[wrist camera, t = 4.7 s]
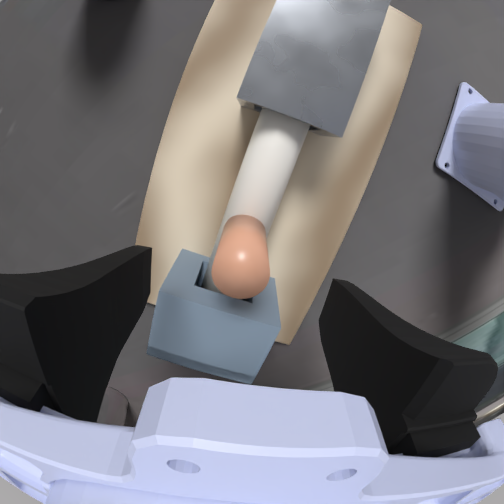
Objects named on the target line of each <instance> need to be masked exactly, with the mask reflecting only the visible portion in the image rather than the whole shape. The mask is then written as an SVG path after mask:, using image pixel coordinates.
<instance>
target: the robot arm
mask: <svg viewBox="0 0 504 504" xmlns="http://www.w3.org/2000/svg"><path fill="white" fill-rule="evenodd" d="M468 89H469V91H470V94H469V92H468ZM445 163H447V167H446V168H445ZM436 166H437V167H438V168H439V169H441V170H442V171H444V172H446V173H447V174H449V175H450V176H451V177H453V178H454V179H456V180H457V181H459V182H460V183H462V184H463V185H465V186H466V187H467V188H469V189H470V190H472V191H473V192H474V193H476V194H477V195H478V196H480V197H481V198H482V199H484V200H485V201H486V202H488V203H489V204H490V205H491V206H493V207H494V208H495V209H496V210H498V211H502V210H503V208H504V103H489V102H488V101H487V100H486V99H485V98H484V97H483V96H482V95H480V94H479V93H478V92H477V91H476V90H475V89H473V88H472V87H471V86H470V85H469V84H467V83H466V82H462V83H460V85H459V89H458V93H457V96H456V100H455V103H454V107H453V110H452V114H451V117H450V120H449V123H448V126H447V129H446V132H445V135H444V138H443V141H442V144H441V147H440V150H439V152H438V155H437V158H436ZM494 200H495V202H494ZM151 262H152V247H146V246H141V245H135V246H131V247H128V248H125V249H123V250H120V251H117V252H115V253H112V254H110V255H107V256H104V257H101V258H98V259H96V260H93V261H90V262H87V263H84V264H80V265H77V266H73V267H69V268H64V269H60V270H53V271H47V272H40V273H29V274H0V476H1V477H2V478H3V479H5V480H6V481H8V482H9V483H11V484H12V485H14V486H15V487H17V488H18V489H20V490H21V491H23V492H25V493H26V494H28V495H30V496H31V497H33V498H34V499H36V500H38V501H40V502H42V503H43V504H476V503H478V502H480V501H481V500H483V499H484V498H485V497H487V496H488V495H489V494H491V493H492V492H493V491H495V490H496V489H497V488H499V487H500V486H501V485H502V484H504V424H503V422H502V421H501V419H500V418H498V419H495V420H491V421H488V422H485V423H482V424H480V425H479V426H478V427H475V425H474V423H473V421H475V419H476V418H477V415H476V413H475V411H474V409H475V407H476V406H477V405H478V404H479V402H480V401H481V400H482V399H483V397H484V396H485V395H486V394H487V392H488V391H489V389H490V388H491V386H492V385H493V383H494V381H495V379H496V376H497V371H498V366H497V363H496V362H495V361H494V359H493V358H492V357H491V356H490V355H489V354H488V353H485V352H481V351H477V350H473V349H469V348H465V347H462V346H459V345H456V344H453V343H450V342H447V341H445V340H442V339H440V338H438V337H435V336H433V335H431V334H429V333H427V332H425V331H423V330H421V329H419V328H417V327H415V326H413V325H412V324H410V323H408V322H406V321H405V320H403V319H401V318H400V317H398V316H397V315H395V314H394V313H392V312H391V311H389V310H388V309H387V308H385V307H384V306H382V305H381V304H380V303H378V302H377V301H376V300H374V299H373V298H372V297H370V296H369V295H368V294H366V293H365V292H364V291H362V290H361V289H360V288H358V287H357V286H355V285H354V284H352V283H350V282H348V281H345V280H339V279H333V281H332V284H331V287H330V290H329V293H328V295H327V298H326V301H325V304H324V307H323V310H322V313H321V315H320V318H319V328H320V336H321V342H322V346H323V350H324V353H325V357H326V361H327V364H328V368H329V371H330V375H331V379H332V382H333V387H334V391H313V390H298V389H286V388H275V387H265V386H256V385H248V384H241V383H233V382H227V381H220V380H214V379H208V378H177V377H175V378H169V379H167V380H165V381H163V382H160V383H158V384H156V385H153V386H151V387H149V389H148V392H147V395H146V397H145V400H144V403H143V406H142V409H141V411H140V414H139V418H138V421H137V424H136V427H128V426H118V425H109V424H101V423H97V419H98V415H99V411H100V408H101V404H102V401H103V397H104V394H105V391H106V388H107V385H108V382H109V379H110V376H111V374H112V371H113V368H114V366H115V363H116V361H117V358H118V356H119V354H120V352H121V350H122V348H123V346H124V345H125V343H126V341H127V339H128V337H129V336H130V334H131V332H132V330H133V329H134V327H135V325H136V323H137V322H138V320H139V318H140V316H141V314H142V313H143V311H144V308H145V306H146V303H147V301H148V298H149V295H150V293H151Z"/></svg>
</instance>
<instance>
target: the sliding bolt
mask: <svg viewBox="0 0 504 504" xmlns="http://www.w3.org/2000/svg"><path fill="white" fill-rule="evenodd" d="M309 127H310V125H308V124H306V123H303V122H301V121H298V120H296V119H293V118H290V117H288V116H285V115H282V114H280V113H277V112H274V111H271V110H268V109H265V108H263V107H262V110H261V112H260V115H259V118H258V120H257V123H256V126H255V128H254V131H253V134H252V137H251V139H250V142H249V145H248V148H247V150H246V153H245V156H244V159H243V162H242V164H241V167H240V170H239V173H238V176H237V179H236V182H235V184H234V187H233V190H232V193H231V196H230V199H229V202H228V205H227V208H226V211H225V214H224V217H223V220H222V223H221V226H220V229H219V232H218V235H217V238H216V241H215V244H214V247H213V250H212V253H211V256H210V260H209V263H208V266H207V269H206V272H205V275H204V279H203V282H202V285H201V288H204V289H207V290H210V291H214V292H217V293H220V294H223V295H226V296H229V297H232V298H236V299H239V300H242V299H247V298H251V297H254V296H256V295H258V294H259V293H261V292H262V291H263V290H264V289H265V287H266V286H267V284H268V282H269V279H270V267H269V257H268V248H267V239H266V238H267V235H268V233H269V230H270V228H271V225H272V223H273V220H274V218H275V215H276V212H277V210H278V207H279V205H280V202H281V200H282V197H283V195H284V192H285V189H286V187H287V184H288V182H289V179H290V176H291V174H292V171H293V169H294V166H295V164H296V161H297V158H298V156H299V153H300V151H301V148H302V145H303V143H304V140H305V138H306V135H307V132H308V130H309Z"/></svg>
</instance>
